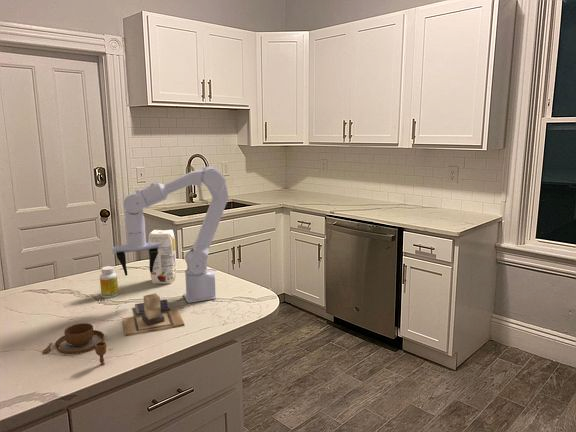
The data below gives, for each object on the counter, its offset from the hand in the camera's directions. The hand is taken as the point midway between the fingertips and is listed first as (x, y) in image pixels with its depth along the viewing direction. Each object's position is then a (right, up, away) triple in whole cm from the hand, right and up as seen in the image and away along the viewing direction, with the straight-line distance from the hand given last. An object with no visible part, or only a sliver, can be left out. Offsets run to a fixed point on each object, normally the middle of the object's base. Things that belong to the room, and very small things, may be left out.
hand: (138, 273), depth 143 cm
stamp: (+8, -12, -12) cm, 19 cm away
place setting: (-6, -17, -28) cm, 33 cm away
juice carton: (+2, -6, +23) cm, 24 cm away
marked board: (+8, -13, -12) cm, 20 cm away
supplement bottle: (-13, -9, +9) cm, 18 cm away
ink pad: (+5, -11, -2) cm, 12 cm away
